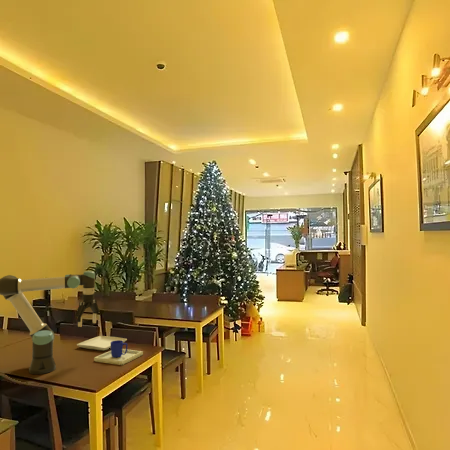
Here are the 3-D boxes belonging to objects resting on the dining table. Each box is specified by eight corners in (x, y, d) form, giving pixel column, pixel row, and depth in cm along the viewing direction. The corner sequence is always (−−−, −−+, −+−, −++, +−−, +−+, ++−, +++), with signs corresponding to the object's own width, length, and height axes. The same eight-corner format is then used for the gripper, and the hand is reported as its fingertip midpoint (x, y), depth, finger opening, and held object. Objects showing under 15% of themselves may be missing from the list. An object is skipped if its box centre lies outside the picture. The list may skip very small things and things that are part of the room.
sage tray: (122, 365, 241) (122, 361, 241) (94, 361, 249) (94, 357, 249) (142, 354, 262) (142, 351, 262) (116, 351, 271) (116, 348, 271)
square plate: (75, 349, 279) (75, 343, 279) (100, 339, 305) (100, 335, 305) (104, 352, 269) (104, 347, 269) (127, 343, 295) (127, 338, 295)
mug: (124, 359, 251) (124, 344, 251) (108, 358, 253) (108, 343, 254) (130, 355, 259) (130, 340, 259) (114, 354, 261) (114, 340, 262)
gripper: (79, 296, 244) (77, 328, 243) (105, 292, 267) (104, 322, 266) (70, 295, 247) (69, 327, 246) (97, 291, 270) (95, 321, 269)
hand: (87, 324), depth 256 cm, fingers open, 13 cm apart
